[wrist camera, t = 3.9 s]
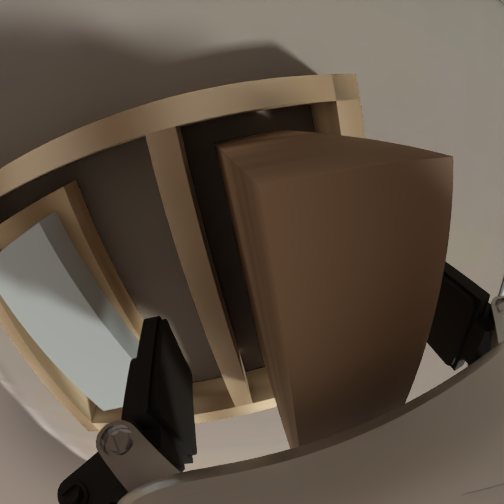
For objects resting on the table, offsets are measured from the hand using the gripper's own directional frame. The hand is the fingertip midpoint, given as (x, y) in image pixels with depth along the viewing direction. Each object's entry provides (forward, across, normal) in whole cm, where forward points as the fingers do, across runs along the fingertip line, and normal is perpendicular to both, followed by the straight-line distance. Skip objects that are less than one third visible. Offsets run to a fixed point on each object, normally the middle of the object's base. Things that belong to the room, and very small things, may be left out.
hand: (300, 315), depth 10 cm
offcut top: (+3, +10, 0) cm, 10 cm away
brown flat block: (+4, 0, 0) cm, 4 cm away
